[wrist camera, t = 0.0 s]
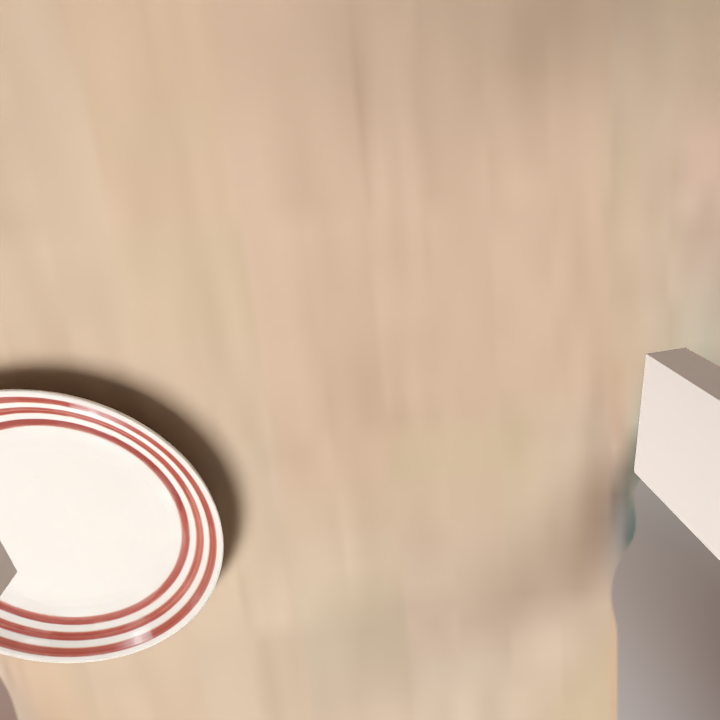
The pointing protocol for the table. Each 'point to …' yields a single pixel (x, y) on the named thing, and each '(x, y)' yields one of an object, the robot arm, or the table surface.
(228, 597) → the table surface
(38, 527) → the dinner plate
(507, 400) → the table surface
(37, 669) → the table surface
